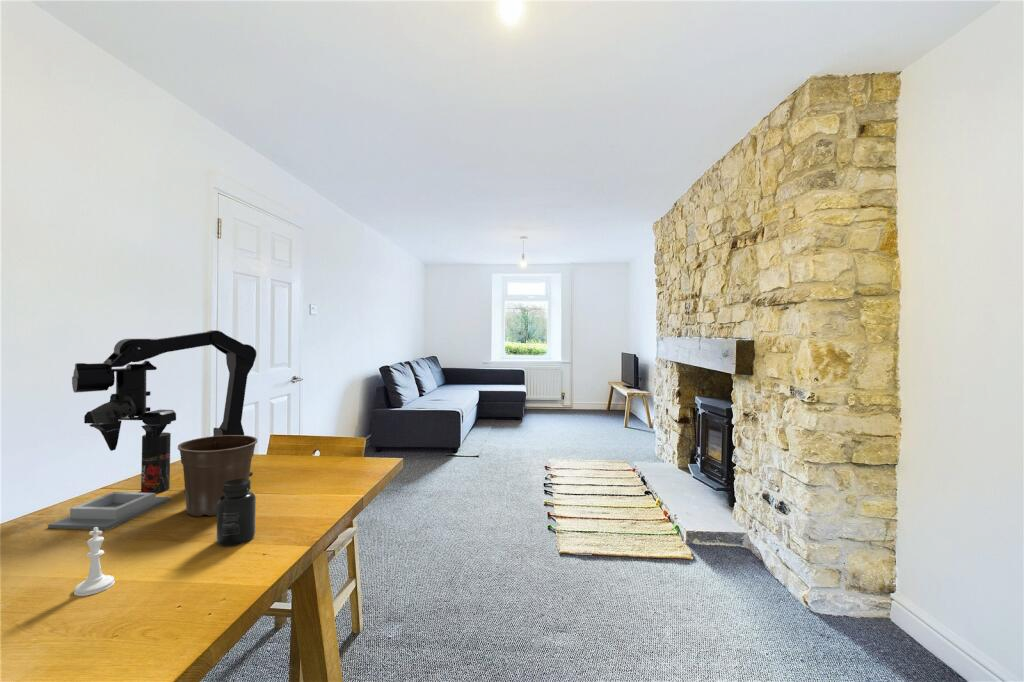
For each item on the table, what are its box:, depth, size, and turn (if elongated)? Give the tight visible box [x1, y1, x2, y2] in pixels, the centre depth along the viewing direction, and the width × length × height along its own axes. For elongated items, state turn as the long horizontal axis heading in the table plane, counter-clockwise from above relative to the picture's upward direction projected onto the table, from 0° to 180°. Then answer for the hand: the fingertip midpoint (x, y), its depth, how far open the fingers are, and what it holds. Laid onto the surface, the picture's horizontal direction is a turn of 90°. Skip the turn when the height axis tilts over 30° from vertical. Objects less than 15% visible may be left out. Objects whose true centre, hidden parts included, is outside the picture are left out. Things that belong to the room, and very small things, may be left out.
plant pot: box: [177, 434, 258, 517], centre depth 106 cm, size 16×16×16 cm
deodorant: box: [140, 431, 172, 495], centre depth 116 cm, size 6×6×15 cm
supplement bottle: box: [216, 478, 257, 547], centre depth 90 cm, size 7×7×12 cm
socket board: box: [47, 491, 172, 531], centre depth 101 cm, size 13×17×3 cm
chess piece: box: [73, 527, 115, 597], centre depth 72 cm, size 5×5×10 cm
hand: (131, 450), depth 109 cm, fingers open, 9 cm apart
